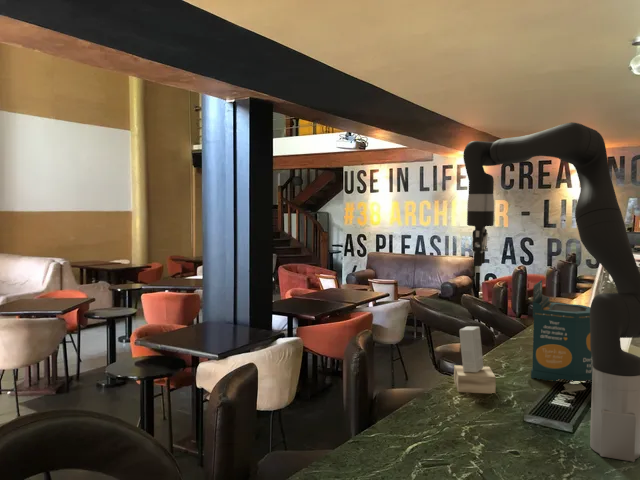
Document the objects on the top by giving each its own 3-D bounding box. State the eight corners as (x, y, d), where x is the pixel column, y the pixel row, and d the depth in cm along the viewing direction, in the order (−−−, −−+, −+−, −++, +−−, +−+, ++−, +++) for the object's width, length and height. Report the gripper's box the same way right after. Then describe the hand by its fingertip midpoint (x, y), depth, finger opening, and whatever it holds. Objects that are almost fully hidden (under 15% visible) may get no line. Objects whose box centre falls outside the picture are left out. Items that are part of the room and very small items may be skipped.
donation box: (539, 364, 173) (541, 279, 172) (594, 372, 165) (597, 283, 163) (530, 378, 159) (533, 285, 158) (590, 387, 151) (593, 290, 149)
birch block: (495, 394, 146) (495, 377, 145) (458, 393, 147) (458, 375, 147) (488, 383, 156) (489, 366, 155) (453, 381, 157) (454, 365, 157)
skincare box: (469, 367, 155) (465, 326, 155) (483, 367, 152) (480, 326, 153) (462, 372, 150) (458, 329, 150) (477, 372, 147) (473, 329, 148)
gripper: (491, 210, 148) (490, 267, 148) (495, 209, 161) (494, 263, 162) (464, 209, 150) (463, 266, 151) (470, 209, 164) (469, 262, 165)
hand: (479, 264), depth 156 cm, fingers open, 8 cm apart
